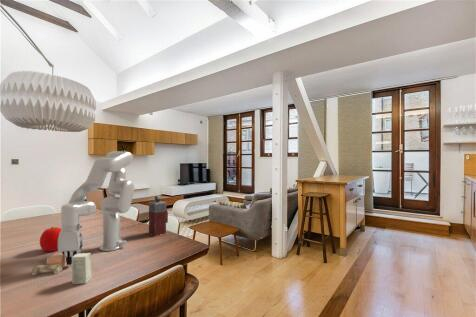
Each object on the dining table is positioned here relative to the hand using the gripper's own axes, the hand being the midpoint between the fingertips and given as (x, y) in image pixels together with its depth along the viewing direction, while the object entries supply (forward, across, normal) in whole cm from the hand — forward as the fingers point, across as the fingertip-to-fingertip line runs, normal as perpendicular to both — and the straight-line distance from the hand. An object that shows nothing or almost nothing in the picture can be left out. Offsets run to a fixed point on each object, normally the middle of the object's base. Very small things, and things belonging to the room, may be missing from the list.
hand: (70, 263), depth 120 cm
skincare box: (+2, -13, +16) cm, 21 cm away
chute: (+2, +8, 0) cm, 8 cm away
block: (+2, +6, 0) cm, 6 cm away
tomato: (+2, +22, -24) cm, 33 cm away
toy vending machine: (+2, -35, -48) cm, 60 cm away
